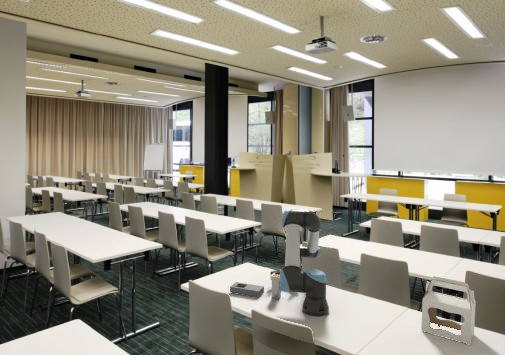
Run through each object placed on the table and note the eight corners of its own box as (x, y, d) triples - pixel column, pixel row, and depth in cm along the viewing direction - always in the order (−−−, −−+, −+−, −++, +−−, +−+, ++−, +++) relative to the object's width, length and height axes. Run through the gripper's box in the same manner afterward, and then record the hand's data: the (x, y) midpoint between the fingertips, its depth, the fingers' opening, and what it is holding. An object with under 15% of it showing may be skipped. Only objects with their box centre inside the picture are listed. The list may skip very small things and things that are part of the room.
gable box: (420, 331, 193) (422, 278, 191) (427, 321, 203) (429, 271, 201) (470, 345, 179) (473, 288, 177) (474, 334, 190) (477, 280, 187)
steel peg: (280, 296, 237) (281, 275, 236) (278, 299, 233) (278, 277, 232) (274, 295, 239) (274, 274, 238) (271, 298, 235) (271, 276, 233)
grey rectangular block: (263, 292, 244) (263, 286, 243) (258, 297, 236) (258, 291, 235) (236, 287, 251) (235, 282, 251) (230, 292, 243) (230, 286, 243)
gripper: (307, 277, 259) (299, 287, 239) (273, 272, 269) (263, 282, 249) (308, 266, 258) (299, 276, 239) (273, 262, 268) (263, 271, 248)
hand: (281, 279), depth 244 cm, fingers open, 13 cm apart
